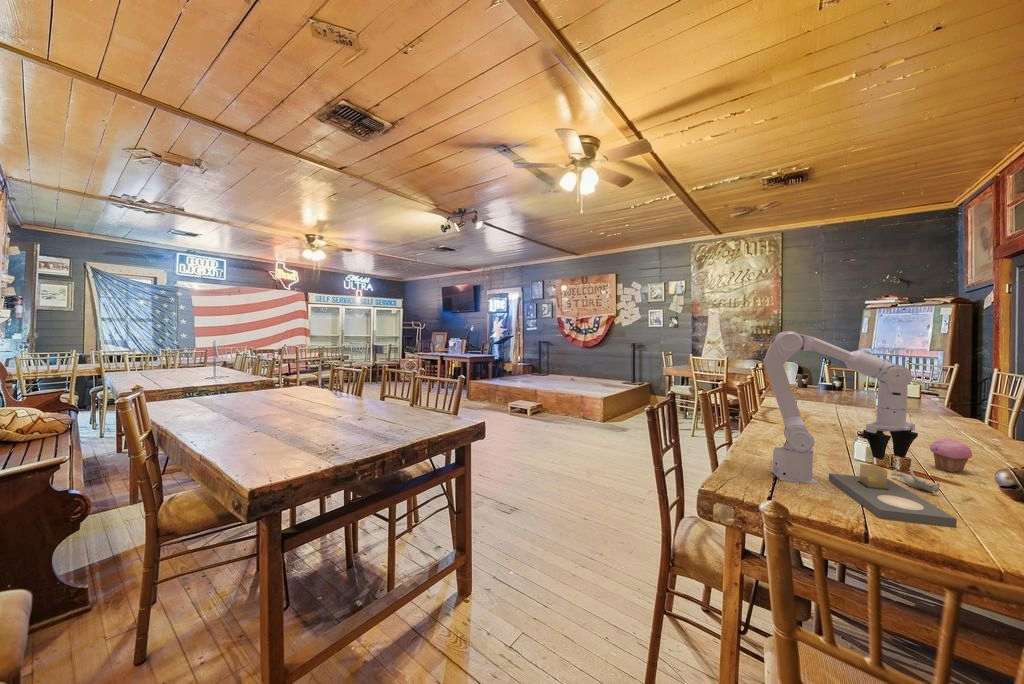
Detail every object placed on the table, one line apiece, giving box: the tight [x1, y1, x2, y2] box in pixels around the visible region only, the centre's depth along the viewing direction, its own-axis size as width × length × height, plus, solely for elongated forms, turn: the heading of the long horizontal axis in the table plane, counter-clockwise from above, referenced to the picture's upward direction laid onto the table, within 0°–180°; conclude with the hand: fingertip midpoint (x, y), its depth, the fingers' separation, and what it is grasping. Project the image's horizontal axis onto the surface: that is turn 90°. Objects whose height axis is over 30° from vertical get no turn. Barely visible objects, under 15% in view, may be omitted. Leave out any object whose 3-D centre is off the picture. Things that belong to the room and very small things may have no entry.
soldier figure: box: [890, 466, 941, 494], centre depth 110 cm, size 8×5×12 cm
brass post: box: [859, 463, 888, 490], centre depth 105 cm, size 4×4×7 cm
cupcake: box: [929, 438, 973, 473], centre depth 124 cm, size 9×9×10 cm
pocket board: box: [828, 473, 958, 529], centre depth 101 cm, size 14×24×3 cm, turn 163°
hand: (888, 457), depth 106 cm, fingers open, 7 cm apart
